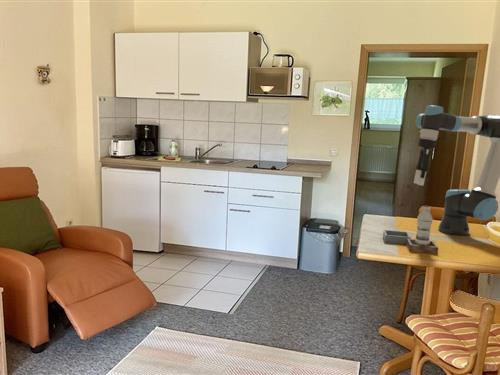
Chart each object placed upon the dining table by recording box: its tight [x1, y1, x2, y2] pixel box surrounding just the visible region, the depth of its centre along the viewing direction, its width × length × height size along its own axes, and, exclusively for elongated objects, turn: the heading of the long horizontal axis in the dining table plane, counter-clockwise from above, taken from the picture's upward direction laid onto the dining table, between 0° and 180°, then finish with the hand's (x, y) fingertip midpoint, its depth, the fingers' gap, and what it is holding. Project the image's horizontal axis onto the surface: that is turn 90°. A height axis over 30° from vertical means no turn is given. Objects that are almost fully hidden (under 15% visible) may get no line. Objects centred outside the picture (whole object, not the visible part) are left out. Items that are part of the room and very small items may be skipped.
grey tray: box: [382, 229, 412, 245], centre depth 219 cm, size 12×11×4 cm
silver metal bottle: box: [414, 205, 434, 246], centre depth 204 cm, size 6×7×20 cm
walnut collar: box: [405, 238, 439, 255], centre depth 206 cm, size 12×11×3 cm
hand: (418, 184), depth 209 cm, fingers open, 13 cm apart
